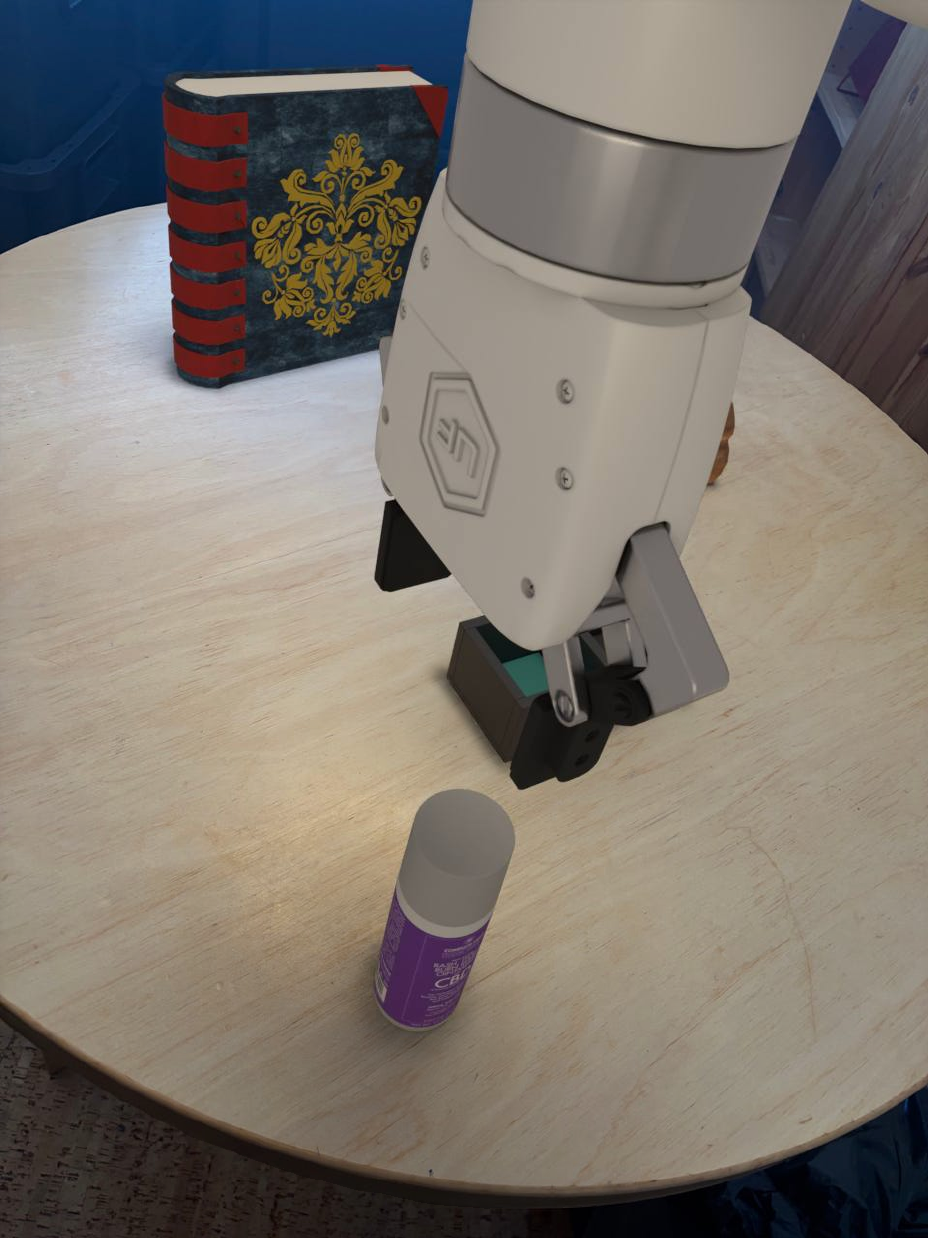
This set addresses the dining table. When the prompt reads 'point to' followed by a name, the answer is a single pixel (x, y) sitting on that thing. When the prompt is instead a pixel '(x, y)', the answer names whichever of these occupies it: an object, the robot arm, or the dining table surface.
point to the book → (292, 211)
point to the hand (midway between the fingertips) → (476, 667)
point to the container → (441, 906)
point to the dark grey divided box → (506, 678)
